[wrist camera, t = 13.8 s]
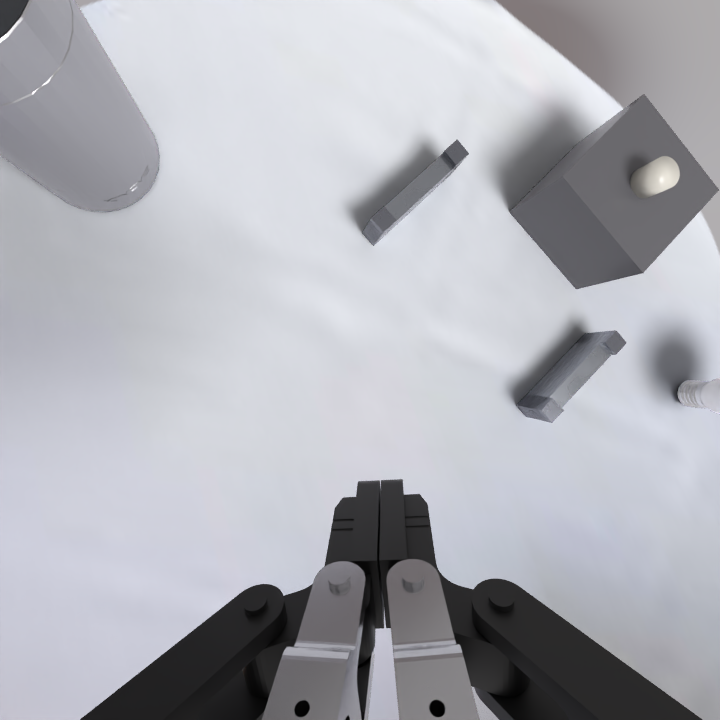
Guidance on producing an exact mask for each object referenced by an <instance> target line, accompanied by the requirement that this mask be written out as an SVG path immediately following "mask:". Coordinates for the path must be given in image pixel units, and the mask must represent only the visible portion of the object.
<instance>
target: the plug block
mask: <svg viewBox="0 0 720 720" xmlns="http://www.w3.org/2000/svg"><path fill="white" fill-rule="evenodd" d="M717 191H719V189H718V188H717V187H716V186H715V184H714V183H713V181H712V180H711V179H710V178H709V176H708V175H707V174H706V173H705V171H704V170H703V169H702V167H701V166H700V165H699V164H698V162H697V161H696V160H695V158H694V157H693V156H692V155H691V153H690V152H689V151H688V149H687V148H686V147H685V146H684V144H683V143H682V142H681V140H680V139H679V138H678V137H677V135H676V134H675V133H674V132H673V130H672V129H671V128H670V126H669V125H668V124H667V123H666V121H665V120H664V119H663V117H662V116H661V115H660V114H659V112H658V111H657V110H656V109H655V107H654V106H653V105H652V103H651V102H650V101H649V100H648V98H647V97H646V96H645V95H644V94H643V95H642V96H641V97H639V98H638V99H637V100H635V101H634V102H633V103H631V104H630V105H629V106H627V107H626V108H624V109H623V110H622V111H620V112H619V113H618V114H616V115H615V116H614V117H612V118H611V119H610V120H608V121H607V122H606V123H604V124H603V125H602V126H600V127H599V128H598V129H596V130H595V131H594V132H592V133H591V134H590V135H588V136H587V137H586V138H584V139H583V140H582V141H580V142H579V143H578V144H576V145H575V146H574V147H573V148H572V149H571V150H570V151H569V152H568V153H567V154H566V155H565V156H564V157H563V158H562V159H561V160H560V161H559V162H558V163H557V164H556V166H555V167H554V168H553V169H552V170H551V171H550V172H549V173H548V174H547V175H546V176H545V177H544V178H543V179H542V180H541V181H540V182H539V183H538V184H537V185H536V186H535V187H534V188H533V189H532V190H531V191H530V192H529V193H528V194H527V195H526V196H525V197H524V198H523V199H522V200H521V201H520V202H519V203H518V204H517V205H516V206H515V207H514V208H513V209H512V210H511V211H510V213H511V215H512V216H513V217H514V218H515V219H516V220H517V222H518V223H519V224H520V225H521V226H522V227H523V228H524V230H525V231H526V232H527V233H528V234H529V235H530V236H531V238H532V239H533V240H534V241H535V242H536V243H537V245H538V246H539V247H540V248H541V249H542V250H543V251H544V253H545V254H546V255H547V256H548V257H549V258H550V260H551V261H552V262H553V263H554V264H555V265H556V266H557V268H558V269H559V270H560V271H561V272H562V273H563V275H564V276H565V277H566V278H567V279H568V280H569V281H570V283H571V284H572V285H573V286H574V287H575V288H576V289H579V288H583V287H587V286H591V285H596V284H600V283H604V282H608V281H612V280H616V279H620V278H624V277H628V276H632V275H637V274H641V273H643V272H644V271H645V270H646V269H647V268H648V267H649V266H650V265H651V264H652V263H653V262H654V260H655V259H656V258H657V257H658V256H659V255H660V254H661V253H662V252H663V251H664V250H665V248H666V247H667V246H668V245H669V244H670V243H671V242H672V241H673V240H674V239H675V237H676V236H677V235H678V234H679V233H680V232H681V231H682V230H683V229H684V228H685V227H686V225H687V224H688V223H689V222H690V221H691V220H692V219H693V218H694V217H695V216H696V215H697V213H698V212H699V211H700V210H701V209H702V208H703V207H704V206H705V205H706V204H707V203H708V201H709V200H710V199H711V198H712V197H713V196H714V195H715V194H716V193H717Z"/></svg>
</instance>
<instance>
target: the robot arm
mask: <svg viewBox="0 0 720 720" xmlns="http://www.w3.org/2000/svg"><path fill="white" fill-rule="evenodd" d="M0 155H1V156H2V157H3V158H5V159H6V160H8V161H9V162H10V163H12V164H13V165H15V166H16V167H17V168H19V169H20V170H22V171H23V172H24V173H26V174H27V175H29V176H30V177H31V178H32V179H34V180H35V181H37V182H38V183H40V184H41V185H42V186H44V187H45V188H47V189H48V190H50V191H51V192H52V193H54V194H55V195H57V196H58V197H60V198H61V199H63V200H64V201H65V202H67V203H69V204H71V205H73V206H76V207H78V208H80V209H85V210H89V211H95V212H109V211H115V210H120V209H122V208H125V207H128V206H130V205H132V204H133V203H135V202H136V201H138V200H139V199H141V198H142V197H143V196H144V195H145V194H146V193H147V192H148V191H149V189H150V188H151V186H152V184H153V183H154V181H155V179H156V176H157V173H158V169H159V158H160V157H159V150H158V144H157V142H156V139H155V136H154V134H153V132H152V130H151V129H150V127H149V125H148V124H147V122H146V120H145V118H144V117H143V115H142V113H141V112H140V110H139V108H138V107H137V105H136V103H135V101H134V99H133V98H132V96H131V94H130V93H129V91H128V89H127V87H126V86H125V84H124V82H123V81H122V79H121V77H120V76H119V74H118V72H117V71H116V69H115V67H114V66H113V64H112V62H111V60H110V59H109V57H108V55H107V54H106V52H105V50H104V49H103V47H102V45H101V44H100V42H99V40H98V39H97V37H96V35H95V33H94V32H93V30H92V28H91V27H90V25H89V23H88V22H87V20H86V18H85V17H84V15H83V13H82V12H81V10H80V8H79V6H78V5H77V3H76V1H75V0H0ZM384 610H385V620H386V628H391V634H392V645H393V656H394V667H395V678H396V688H397V699H398V710H399V720H480V719H479V715H478V711H477V707H476V703H475V699H474V696H473V692H472V688H471V686H472V687H474V688H475V691H476V693H477V695H478V696H479V698H480V699H481V700H482V702H483V703H484V704H485V705H486V706H487V707H488V708H489V709H490V710H491V711H492V712H493V713H494V714H495V715H496V717H497V718H498V719H499V720H702V719H701V718H699V717H698V716H697V715H695V714H694V713H693V712H691V711H690V710H688V709H687V708H686V707H684V706H683V705H682V704H680V703H679V702H677V701H676V700H675V699H673V698H672V697H671V696H669V695H668V694H666V693H665V692H664V691H662V690H661V689H660V688H658V687H657V686H655V685H654V684H653V683H651V682H650V681H649V680H647V679H646V678H644V677H643V676H642V675H640V674H639V673H638V672H636V671H635V670H633V669H632V668H631V667H629V666H628V665H626V664H625V663H624V662H622V661H621V660H620V659H618V658H617V657H615V656H614V655H613V654H611V653H610V652H609V651H607V650H606V649H604V648H603V647H602V646H600V645H599V644H598V643H596V642H595V641H593V640H592V639H591V638H589V637H588V636H587V635H585V634H584V633H582V632H581V631H580V630H578V629H577V628H576V627H574V626H573V625H571V624H570V623H569V622H567V621H566V620H565V619H563V618H562V617H560V616H559V615H558V614H556V613H555V612H554V611H552V610H551V609H549V608H548V607H547V606H545V605H544V604H543V603H541V602H540V601H538V600H537V599H536V598H534V597H533V596H531V595H530V594H529V593H527V592H526V591H525V590H523V589H522V588H520V587H519V586H517V585H516V584H514V583H512V582H510V581H507V580H503V579H488V580H485V581H482V582H481V583H479V584H478V585H477V586H476V587H475V588H474V590H473V589H469V588H465V587H461V586H458V585H456V584H453V583H451V582H450V581H448V580H447V579H446V578H444V577H443V576H442V574H441V573H440V572H439V570H438V568H437V565H436V560H435V553H434V546H433V540H432V533H431V526H430V519H429V512H428V505H427V503H426V502H425V500H424V499H423V498H422V497H421V495H420V494H411V495H404V493H403V480H402V479H399V480H381V487H380V481H359V482H358V486H357V495H356V497H347V498H342V500H341V501H340V502H339V504H338V505H337V506H336V507H335V511H334V517H333V523H332V528H331V534H330V539H329V545H328V550H327V556H326V562H325V567H324V568H322V569H321V570H320V571H319V572H318V573H317V575H316V577H315V579H314V582H313V584H312V585H311V586H309V587H307V588H305V589H303V590H301V591H298V592H295V593H291V594H288V595H285V596H283V594H282V592H281V591H280V590H279V589H278V588H277V587H275V586H273V585H269V584H260V585H256V586H253V587H250V588H248V589H246V590H244V591H243V592H242V593H240V594H239V595H238V596H236V597H235V598H234V599H233V600H231V601H230V602H229V603H228V604H226V605H225V606H224V607H222V608H221V609H220V610H219V611H217V612H216V613H215V614H214V615H212V616H211V617H210V618H209V619H207V620H206V621H205V622H203V623H202V624H201V625H200V626H198V627H197V628H196V629H195V630H193V631H192V632H191V633H189V634H188V635H187V636H186V637H184V638H183V639H182V640H181V641H179V642H178V643H177V644H175V645H174V646H173V647H172V648H170V649H169V650H168V651H167V652H165V653H164V654H163V655H161V656H160V657H159V658H158V659H156V660H155V661H154V662H153V663H151V664H150V665H149V666H148V667H146V668H145V669H144V670H142V671H141V672H140V673H139V674H137V675H136V676H135V677H134V678H132V679H131V680H130V681H128V682H127V683H126V684H125V685H123V686H122V687H121V688H120V689H118V690H117V691H116V692H114V693H113V694H112V695H111V696H109V697H108V698H107V699H106V700H104V701H103V702H102V703H101V704H99V705H98V706H97V707H95V708H94V709H93V710H92V711H90V712H89V713H88V714H87V715H85V716H84V717H83V718H81V719H80V720H368V714H369V704H370V695H371V685H372V675H373V666H374V647H375V628H384Z"/></svg>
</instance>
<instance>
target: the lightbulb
mask: <svg viewBox="0 0 720 720" xmlns="http://www.w3.org/2000/svg"><path fill="white" fill-rule="evenodd" d="M678 398H679V401H680V402H681V403H682V404H683V405H684V406H687V407H695V408H704V409H709V410H710V411H712V412H715V413H717V414H720V378H718V379H714V380H711V381H697V380H687V381H684V382H683V383H682V384H681V385H680V386H679V389H678Z"/></svg>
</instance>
